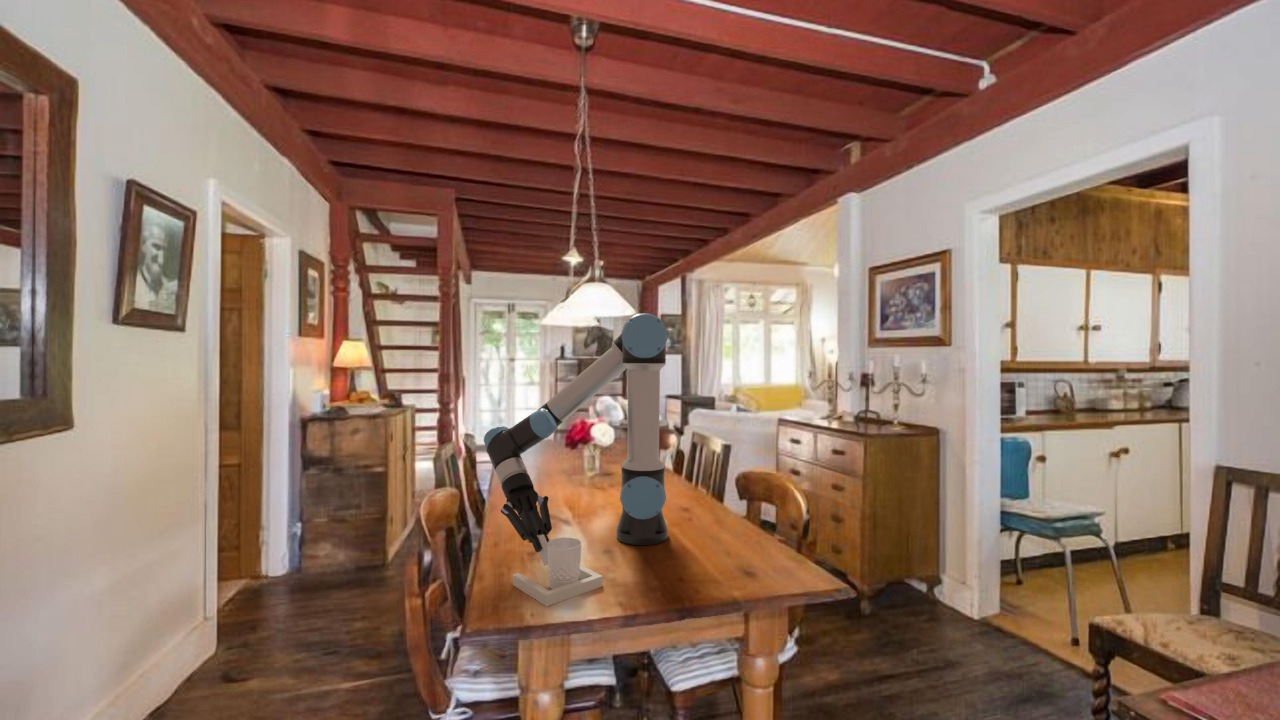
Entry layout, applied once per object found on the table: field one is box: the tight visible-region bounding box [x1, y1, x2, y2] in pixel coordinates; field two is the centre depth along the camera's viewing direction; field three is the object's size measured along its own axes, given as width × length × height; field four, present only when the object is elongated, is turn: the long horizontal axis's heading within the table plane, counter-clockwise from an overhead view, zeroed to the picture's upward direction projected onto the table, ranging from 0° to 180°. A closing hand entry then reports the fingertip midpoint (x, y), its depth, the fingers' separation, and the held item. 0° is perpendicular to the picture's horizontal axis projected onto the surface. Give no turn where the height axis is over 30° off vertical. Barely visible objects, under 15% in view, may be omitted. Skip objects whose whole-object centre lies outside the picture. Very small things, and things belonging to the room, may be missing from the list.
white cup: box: [547, 536, 582, 590], centre depth 127 cm, size 8×8×10 cm
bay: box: [512, 564, 604, 607], centre depth 127 cm, size 15×15×2 cm
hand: (549, 561), depth 129 cm, fingers closed
